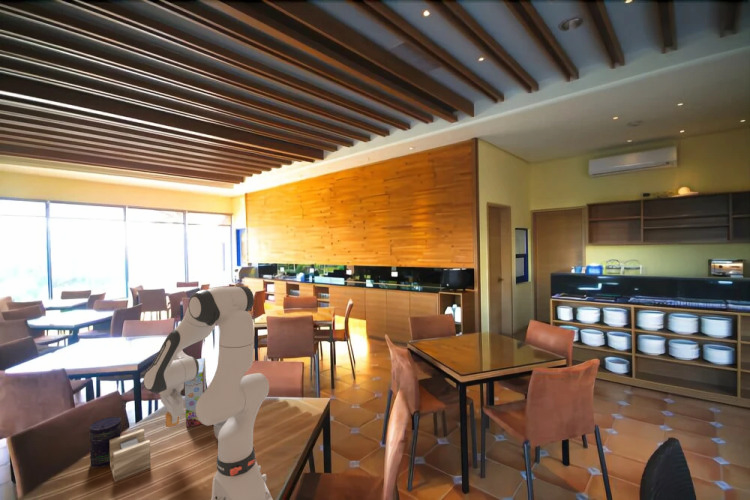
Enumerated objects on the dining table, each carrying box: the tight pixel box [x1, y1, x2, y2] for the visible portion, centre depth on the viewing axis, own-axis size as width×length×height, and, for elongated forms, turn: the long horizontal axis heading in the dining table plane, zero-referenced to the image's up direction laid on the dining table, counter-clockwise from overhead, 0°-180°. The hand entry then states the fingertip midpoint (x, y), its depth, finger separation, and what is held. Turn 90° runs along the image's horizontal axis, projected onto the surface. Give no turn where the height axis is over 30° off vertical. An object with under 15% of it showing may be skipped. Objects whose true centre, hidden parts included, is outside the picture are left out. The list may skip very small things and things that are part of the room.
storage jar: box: [89, 416, 122, 469], centre depth 131 cm, size 10×10×15 cm
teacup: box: [213, 419, 228, 440], centre depth 148 cm, size 14×11×8 cm
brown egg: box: [165, 412, 180, 428], centre depth 133 cm, size 5×5×4 cm
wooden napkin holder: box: [109, 428, 152, 483], centre depth 127 cm, size 13×11×10 cm
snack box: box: [184, 357, 207, 428], centre depth 165 cm, size 22×9×26 cm, turn 25°
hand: (172, 419), depth 133 cm, fingers closed on brown egg, 5 cm apart
